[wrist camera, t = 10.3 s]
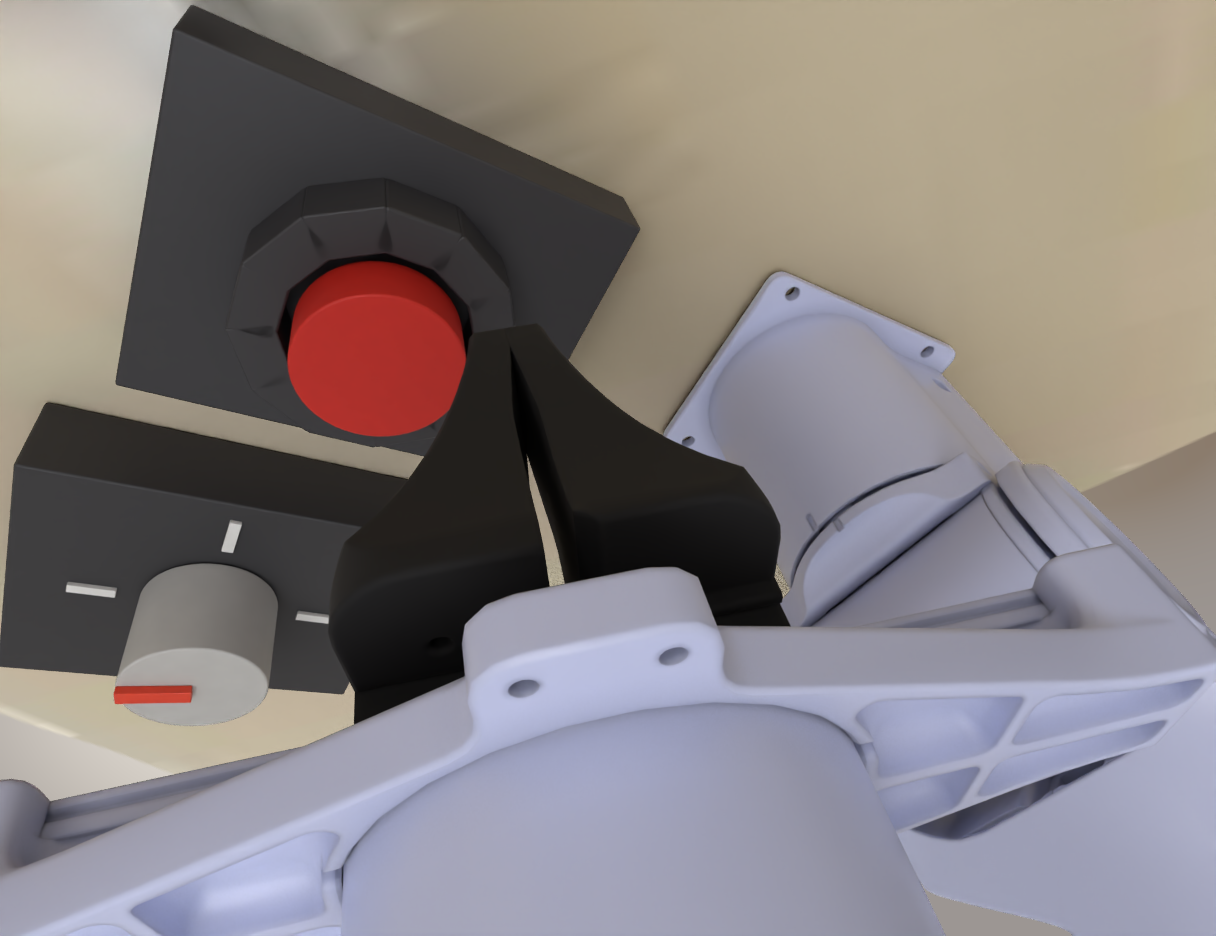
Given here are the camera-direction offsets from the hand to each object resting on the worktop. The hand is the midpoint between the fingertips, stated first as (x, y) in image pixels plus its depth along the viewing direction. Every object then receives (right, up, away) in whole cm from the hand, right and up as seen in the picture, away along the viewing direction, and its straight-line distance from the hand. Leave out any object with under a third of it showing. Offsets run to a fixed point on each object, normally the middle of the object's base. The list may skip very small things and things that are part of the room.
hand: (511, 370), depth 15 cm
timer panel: (-13, -5, +14) cm, 20 cm away
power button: (-4, +2, +6) cm, 7 cm away
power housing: (-5, +4, +8) cm, 11 cm away
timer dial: (-12, -7, +12) cm, 18 cm away
